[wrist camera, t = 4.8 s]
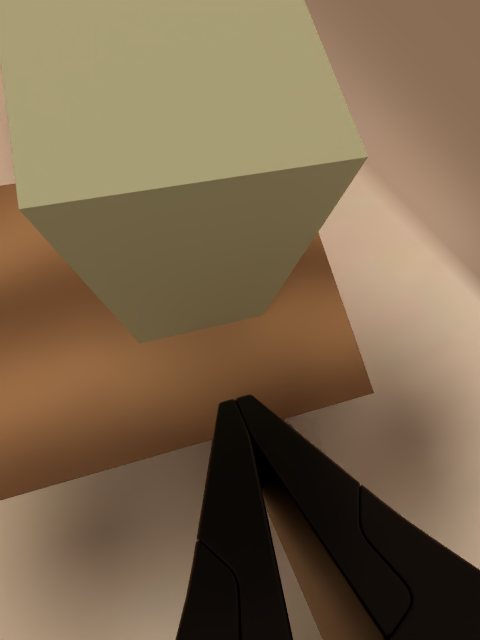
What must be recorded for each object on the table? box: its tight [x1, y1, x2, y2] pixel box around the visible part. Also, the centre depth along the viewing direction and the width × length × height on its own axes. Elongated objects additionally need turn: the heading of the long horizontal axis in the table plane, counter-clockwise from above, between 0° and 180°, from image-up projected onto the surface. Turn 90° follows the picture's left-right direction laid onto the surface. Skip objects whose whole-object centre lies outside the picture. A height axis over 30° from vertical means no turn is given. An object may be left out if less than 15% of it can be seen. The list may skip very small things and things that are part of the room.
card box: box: [0, 0, 368, 343], centre depth 10 cm, size 7×5×9 cm
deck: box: [0, 184, 374, 500], centre depth 15 cm, size 12×14×2 cm
